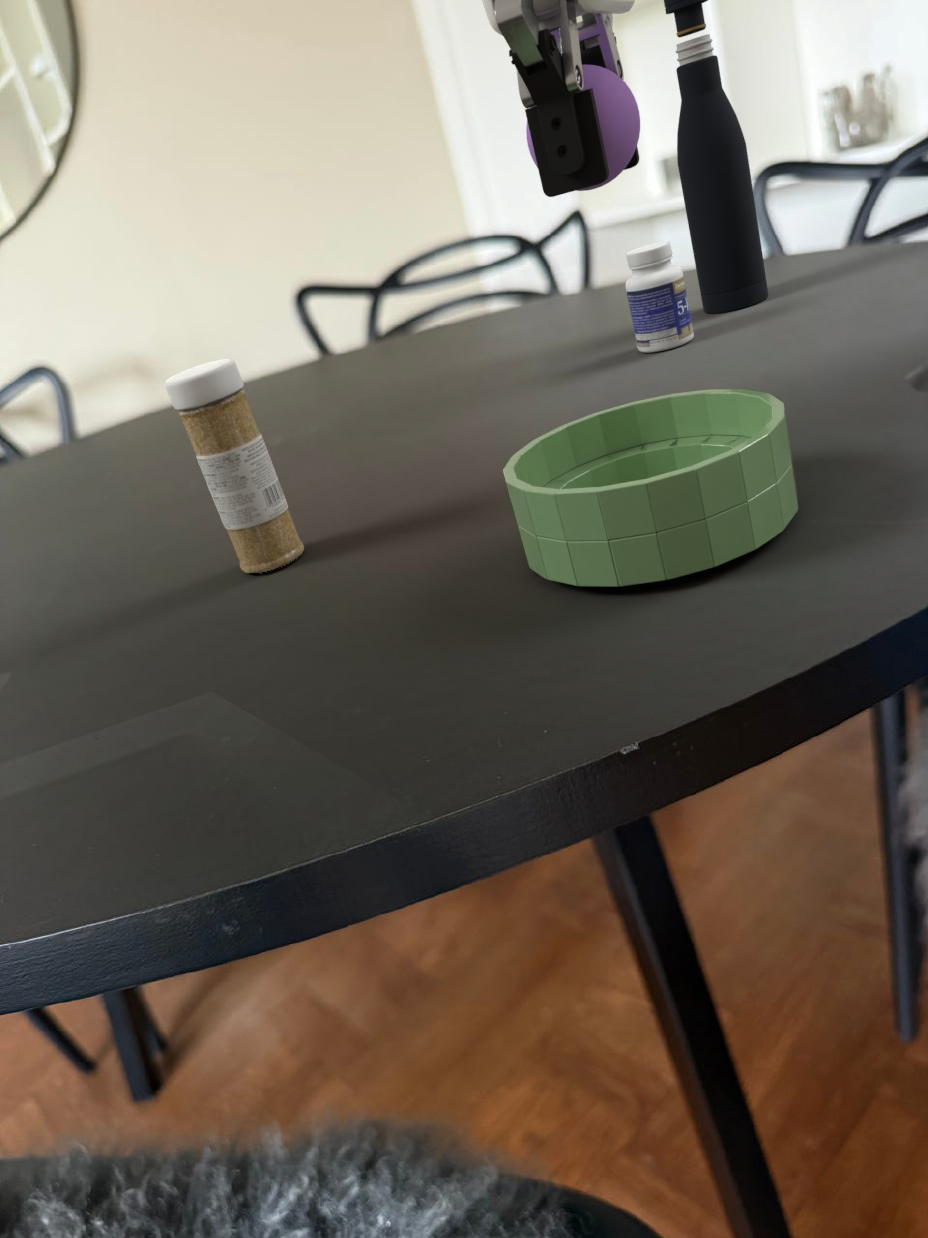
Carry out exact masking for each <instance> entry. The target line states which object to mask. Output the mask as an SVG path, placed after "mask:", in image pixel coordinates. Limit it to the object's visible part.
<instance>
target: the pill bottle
mask: <svg viewBox="0 0 928 1238" xmlns="http://www.w3.org/2000/svg"><path fill="white" fill-rule="evenodd" d="M625 257H626V262H627V266H628V270H630V271H631V273H632V275H631V276H629V278H628V279H627V280H626V282H625V292H626V296H627V297H626V298H627V303H628V306H629V312H630V317H631V322H632V325H633V332H634V336H635V343H636V347H637V350H638V352H641V353H645V354H649V353H650V354H651V353H657V352H664V351H667V350H671V349H675V348H677V347H680V346H683V345H686V344H687V343H689V342H691V341H692V340H693V338H694V336H695V333H694V327H693V322H692V317H691V309H690V305H689V300H688V295H687V288H686V282H685V277H684V272H683V269H682V268H681V267H680V266H678V265H676V264H672V261H671V260H672V259H673V249H672V246H671V242H670V241H669V240H665V241H658V242H655V243H650V244H647V245H642V246H640V247H636V248H634V249H631V250H629V251H628V252H626V254H625Z"/></svg>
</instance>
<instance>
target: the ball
mask: <svg viewBox="0 0 928 1238" xmlns="http://www.w3.org/2000/svg"><path fill="white" fill-rule="evenodd" d="M582 72H583V81H584V88H583V90H582V91H584V90H587V89H590V88H593V93H594V98H595V103H596V108H597V113H598V118H599V123H600V128H601V133H602V138H603V143H604V148H605V153H606V159H607V164H608V169H609V177H608V179H607V180H606V181H605V182H603V183H601V184H597V185H594V186H590V187H586V188H583V189H579V190H576V191H575V192H584V191H592V190H595V189H598V188H602V187H603V186H605V185H607V184H609V183H610V182H613V180H614V179H616V178H618V176H619V175H620V174H622V173H623V171H625V170H624V169H625V168H626V166H627V165H628V163H629V162H630V160H631V158H632V156H633V154H634V152H635V150H636V147H637V148H638V145H639V144H638V143H639V139H640V134H641V116H640V109H639V106H638V102H637V100H636V97H635V95H634V93H633V91H632V90H631V88H630V87H629V86H628V84H627V83H626V81H624V80H622V79H621V78H620V77H619V76H618V75H616V74H615V73H613V72H612V71H610V70H608V69H606V68H603V67H600V66H595V65H582ZM580 92H581V91H580ZM577 93H578V92H577ZM534 107H535V106H534ZM531 108H532V107H531ZM525 128H526V129H525V132H526V133H525V134H526V143H527V148H528V151H529V154H530V156H531V159H532V161H533V163H534V165H535V167H536V168H537V169H538V166H537V161H536V157H535V152H534V148H533V143H532V139H531V135H530V130H529V126H528V121H527V120H526V127H525Z"/></svg>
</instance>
